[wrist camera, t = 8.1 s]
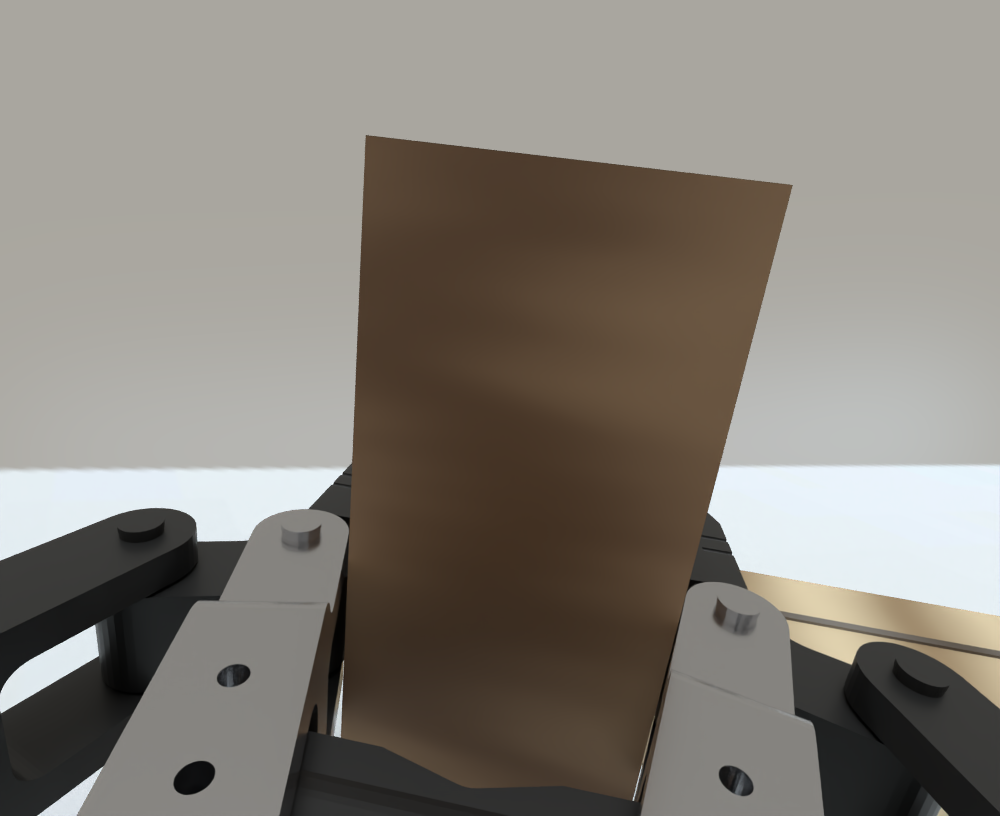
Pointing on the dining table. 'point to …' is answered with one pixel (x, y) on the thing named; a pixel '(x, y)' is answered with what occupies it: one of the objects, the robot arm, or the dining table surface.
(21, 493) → the dining table surface
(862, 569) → the dining table surface
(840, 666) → the robot arm
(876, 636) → the board
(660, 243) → the block
